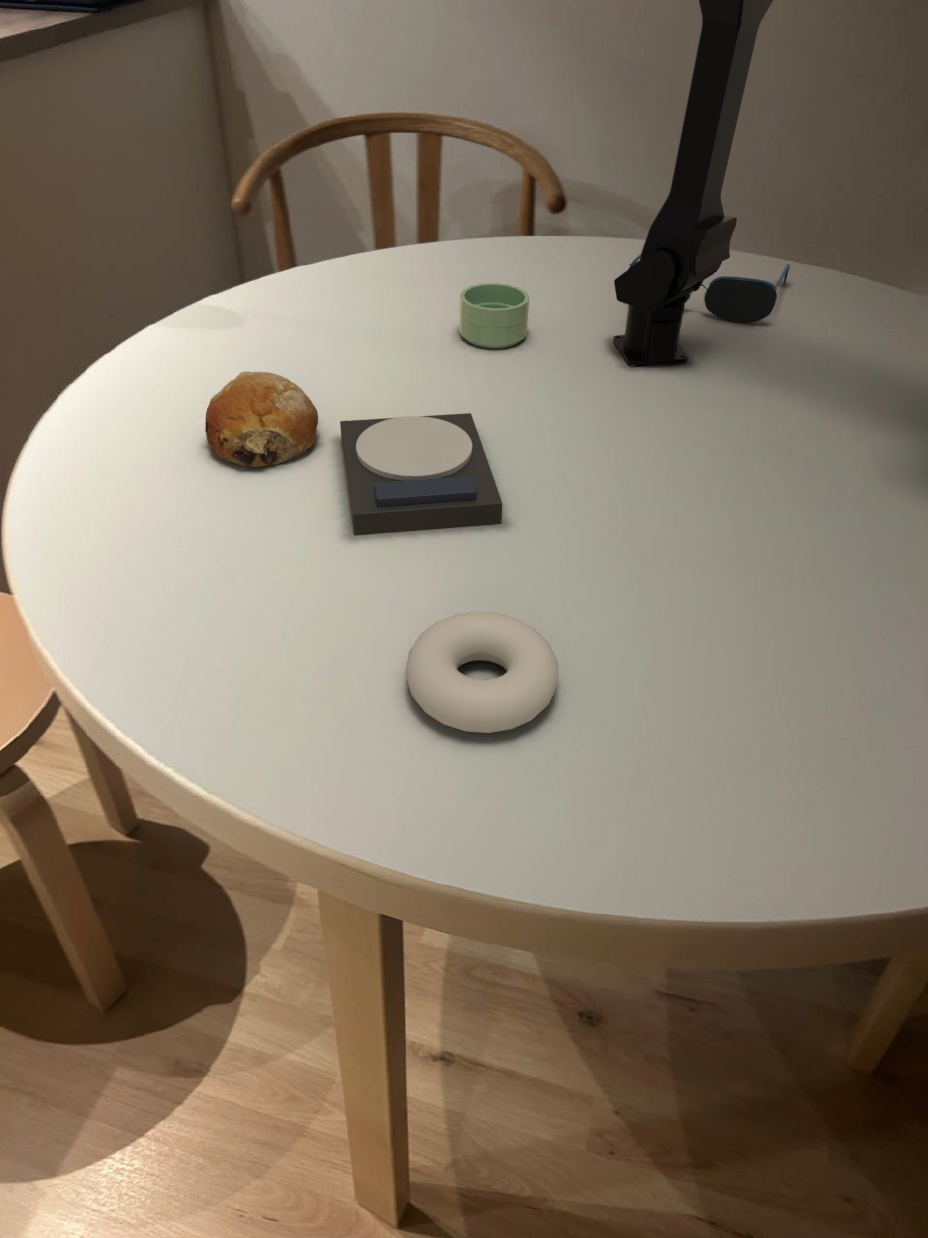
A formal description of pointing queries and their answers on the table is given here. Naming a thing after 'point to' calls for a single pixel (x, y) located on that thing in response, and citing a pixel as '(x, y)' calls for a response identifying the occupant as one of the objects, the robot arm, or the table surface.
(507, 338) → the bowl
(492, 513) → the scale
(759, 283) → the sunglasses
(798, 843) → the table surface
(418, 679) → the donut
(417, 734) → the table surface
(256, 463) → the bread roll
